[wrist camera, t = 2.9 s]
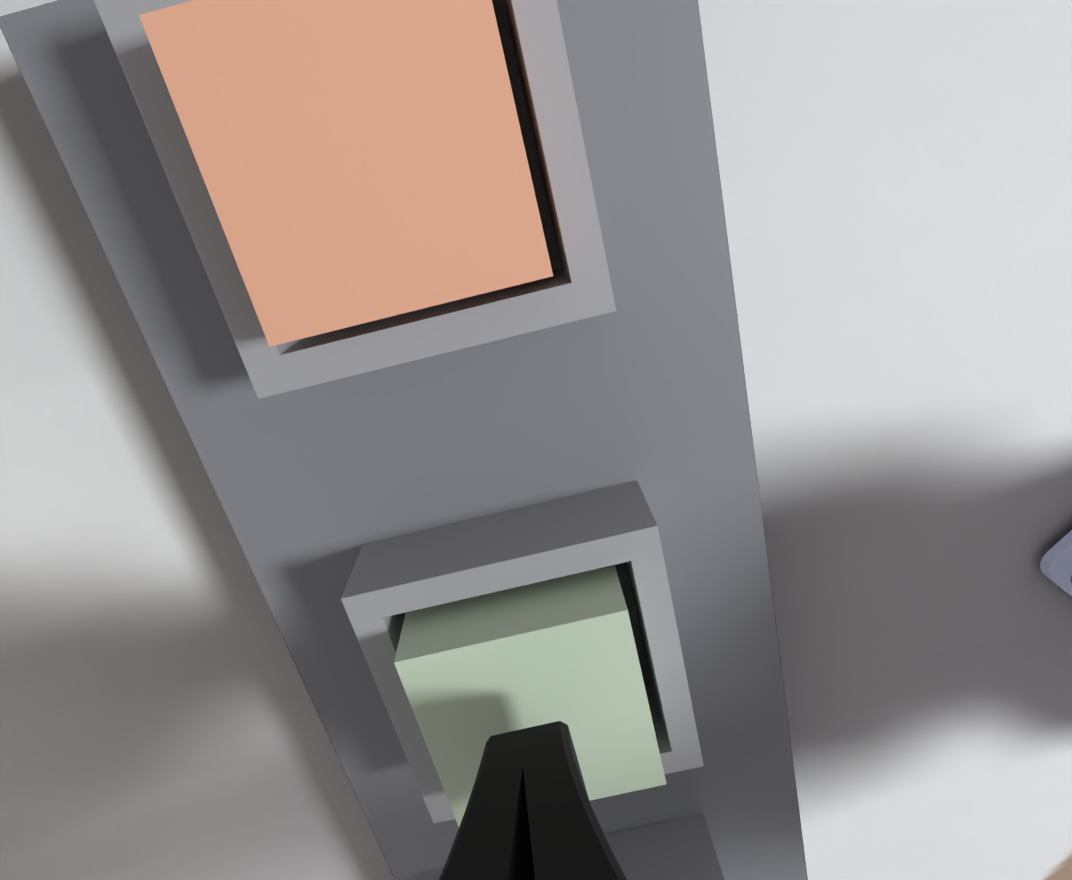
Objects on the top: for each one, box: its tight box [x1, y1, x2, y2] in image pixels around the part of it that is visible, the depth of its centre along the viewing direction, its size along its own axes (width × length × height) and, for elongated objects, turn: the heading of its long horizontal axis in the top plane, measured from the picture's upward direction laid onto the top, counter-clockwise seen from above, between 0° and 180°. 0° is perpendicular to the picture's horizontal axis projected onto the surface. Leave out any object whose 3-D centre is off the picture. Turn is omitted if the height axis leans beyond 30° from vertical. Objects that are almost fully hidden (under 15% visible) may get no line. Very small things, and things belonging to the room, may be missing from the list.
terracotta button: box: [139, 0, 553, 347], centre depth 10 cm, size 4×4×2 cm
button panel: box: [0, 0, 808, 880], centre depth 15 cm, size 27×11×4 cm, turn 13°
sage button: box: [394, 565, 666, 827], centre depth 13 cm, size 4×4×2 cm
